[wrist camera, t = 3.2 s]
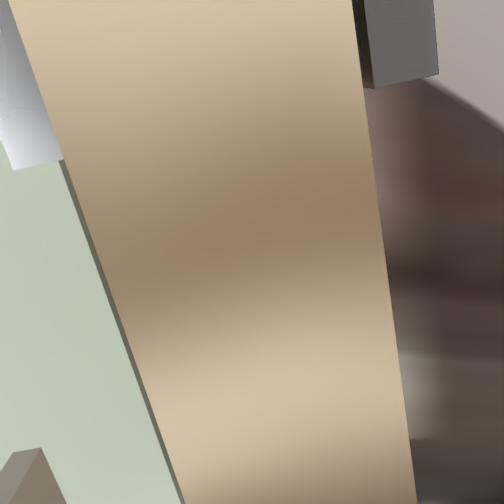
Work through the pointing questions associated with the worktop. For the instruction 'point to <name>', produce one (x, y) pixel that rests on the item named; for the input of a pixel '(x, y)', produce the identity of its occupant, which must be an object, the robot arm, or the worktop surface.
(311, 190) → the rail
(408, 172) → the worktop surface
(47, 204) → the mat
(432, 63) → the post
